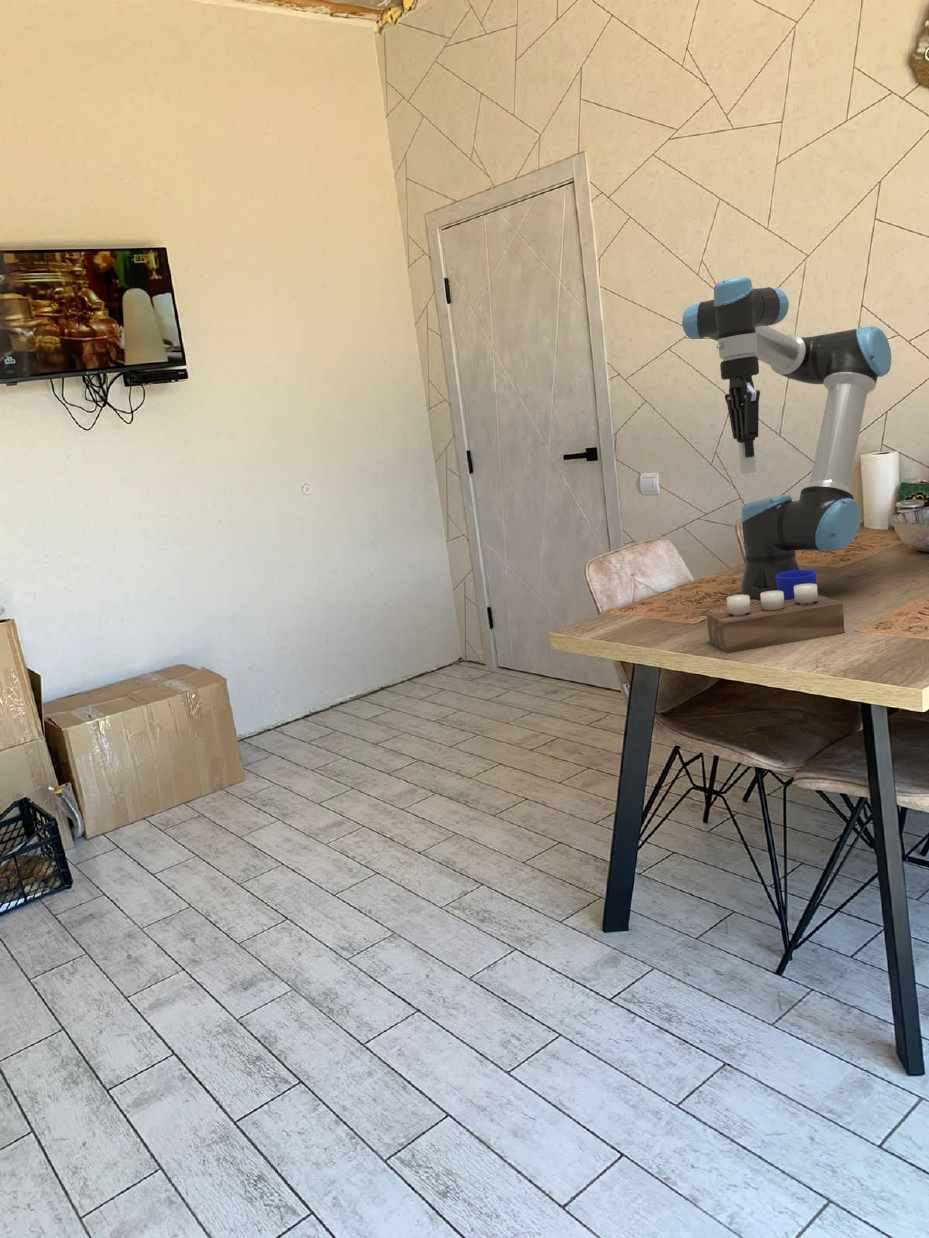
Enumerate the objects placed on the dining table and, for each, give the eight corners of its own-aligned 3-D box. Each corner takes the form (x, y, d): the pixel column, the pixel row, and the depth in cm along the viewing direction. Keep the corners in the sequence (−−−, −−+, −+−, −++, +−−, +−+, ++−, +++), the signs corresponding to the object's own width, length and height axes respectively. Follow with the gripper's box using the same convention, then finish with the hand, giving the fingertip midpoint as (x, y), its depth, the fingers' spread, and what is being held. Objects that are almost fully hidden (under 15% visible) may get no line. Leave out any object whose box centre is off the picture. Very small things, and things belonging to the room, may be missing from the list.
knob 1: (727, 638, 190) (723, 597, 188) (748, 634, 190) (744, 593, 189) (735, 642, 186) (731, 600, 184) (756, 639, 186) (752, 597, 184)
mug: (819, 609, 206) (815, 565, 204) (820, 622, 195) (816, 575, 193) (779, 612, 209) (776, 568, 207) (778, 625, 198) (774, 579, 196)
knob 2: (760, 634, 191) (756, 593, 189) (781, 630, 191) (777, 589, 189) (769, 638, 186) (765, 596, 185) (790, 634, 187) (787, 592, 185)
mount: (709, 641, 193) (706, 613, 192) (820, 622, 194) (818, 594, 193) (727, 652, 183) (724, 623, 182) (844, 632, 185) (842, 603, 183)
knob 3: (793, 627, 191) (789, 586, 189) (813, 623, 191) (810, 582, 190) (802, 631, 187) (799, 589, 185) (824, 627, 187) (820, 585, 185)
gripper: (709, 363, 197) (720, 474, 202) (733, 357, 185) (743, 476, 189) (743, 358, 198) (753, 469, 203) (769, 352, 185) (779, 471, 190)
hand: (748, 472), depth 196 cm, fingers closed
